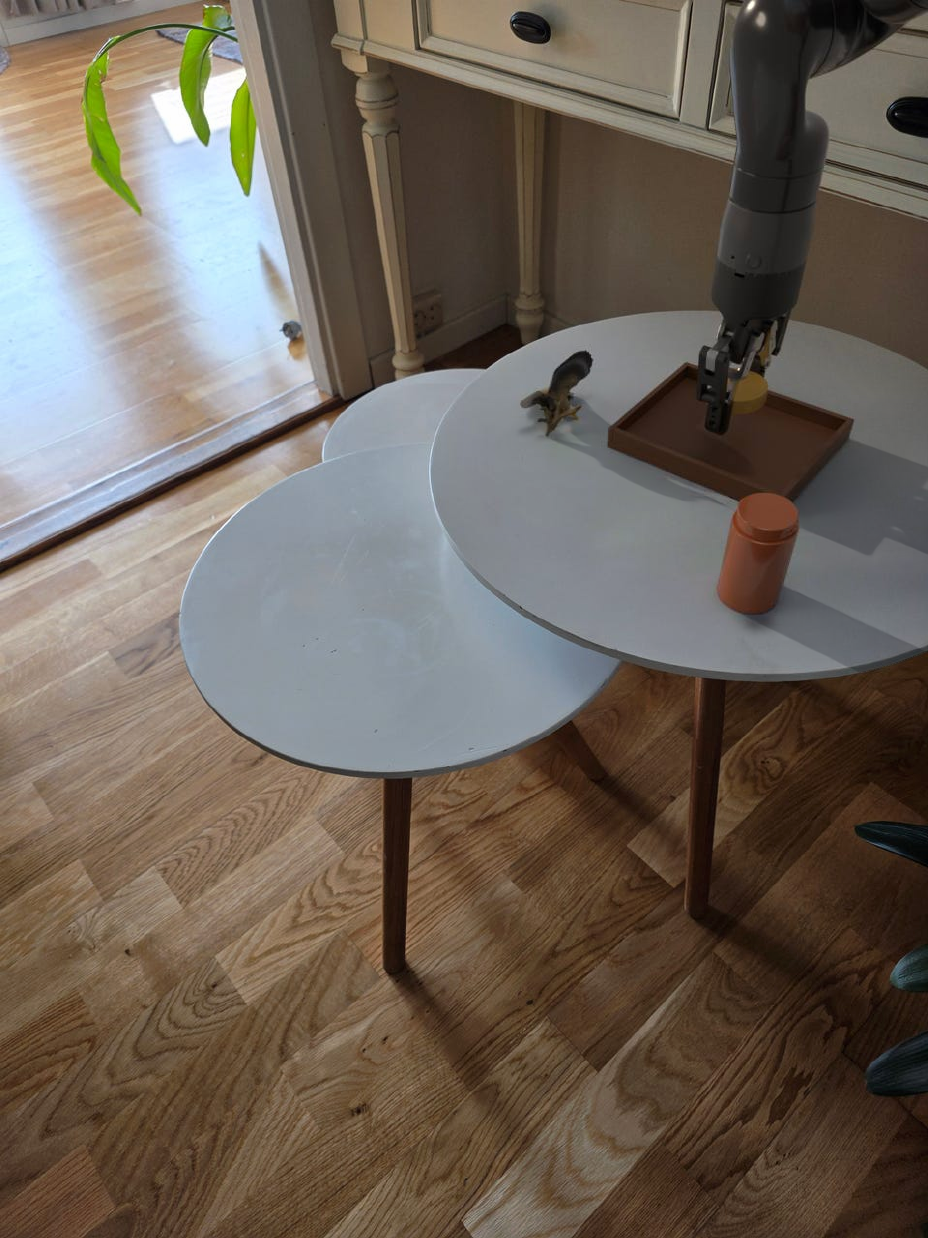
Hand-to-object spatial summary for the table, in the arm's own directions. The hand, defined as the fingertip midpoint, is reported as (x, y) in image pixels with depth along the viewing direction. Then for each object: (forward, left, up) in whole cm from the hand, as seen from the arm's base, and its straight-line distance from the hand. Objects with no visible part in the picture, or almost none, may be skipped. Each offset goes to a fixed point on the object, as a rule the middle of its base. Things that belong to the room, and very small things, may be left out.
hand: (731, 415), depth 87 cm
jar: (-12, +18, -3) cm, 22 cm away
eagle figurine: (+17, +6, -4) cm, 18 cm away
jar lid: (0, 0, +3) cm, 3 cm away
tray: (0, 0, -3) cm, 3 cm away
